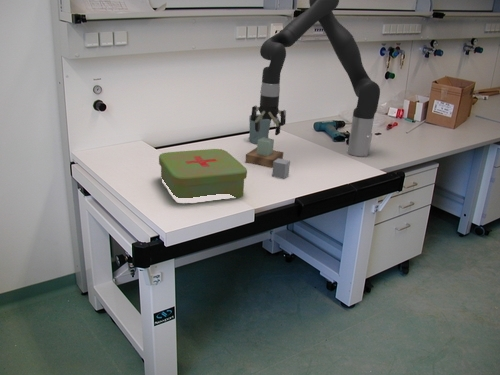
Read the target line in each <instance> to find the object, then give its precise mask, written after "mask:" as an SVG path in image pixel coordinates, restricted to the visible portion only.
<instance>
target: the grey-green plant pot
mask: <svg viewBox="0 0 500 375" xmlns="http://www.w3.org/2000/svg"><path fill="white" fill-rule="evenodd" d="M259 115H260V114H258V113H257V114H256V118H258V116H259ZM259 122H260V130H259V132H256V130H255V122H254V121H251V115H249V135H248V136H249V138H248V139H249V143H251V144H253V145H257V143H258V140H259V139H261V138H263V137H264V138H269V135H270V134H269V133H270V128H271V122H272V119H271V120H269V119H264V118H262V119H261V120H260V121H259Z"/></svg>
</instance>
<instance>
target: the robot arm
mask: <svg viewBox="0 0 500 375" xmlns="http://www.w3.org/2000/svg"><path fill="white" fill-rule="evenodd" d="M339 3H340V0H308V4H309V7H308V8H307V9H306V10H305V11H303V12H302V13H300V14H299V15H298V16H296V17H295V18H294V19H292V20H291V21H290V22H288V24H287V25H286V26H284V27H283V29H281V31H280V32H278V33H276V34H274V35H273V36H271V37H270V38H267V39H266V40H265V41H264V42H263V43H262V44H261V47H260V51H259V52H260V53H259V54H260V56H261V58H262V59H264V60H267V61H270V62H269V64H268V66H265V67H263V69H262V74H261V75H262V78H261V85H260V98H259V99H260V100H259V106H257V105H254V106H252V107H251V121H254V122H255V130H256V132H259V130H260V122H259V121H260V120H261V119H262V118H264V119H269V120H271V121H272V122H273V123H274V124H275V133H274V135H275V136H278V135H279V134H281V127H282V126H284V125H286V121H287V120H286V118H287V117H286V115H287V110H285V109H283V110H280V109H279V103H280V91H281V90H280V89H281V87H280V86H281V85H280V83H281V72H282V70H283V67H284V63H285V60H286V58H287V51H286V48H289V47H292V46H293V45H294V44H295V43H297V42H298V41H299V40H300V38H302V37H303V35H304V34H305V33H306V32H307V31H308V30H309V29H311V28H312V27H313V26H314V25H315V24H316V23H318V22H319V24H320V26H321V27H322V29H323V32H324V33H325V34H326V38H327V39H328V41H329V42H330V44H331V46H332V49H333V51H334V53H335V54H336V57H337V58H338V61H339V62H340V64H341V66H342V68H343V69H344V71H345V72H346V74H347V76H348V78H349V81H350V83H351V86H352V88H353V91H354V94H355V96H356V97H357V104H356V107H355V108H354V109H353V111H352V119H351V120H352V121H351V124H350V125H351V128H350V133H349V139H348V145H347V146H348V147H347V154H348V155H351V156H354V157H368V156H369V154H370V150H371V144H372V137H373V133H372V132H373V128H374V127H373V126H374V120H375V115H376V113H377V110H378V106H379V100H380V95H381V88H380V86H379V84H378V83H377V82H376V81H373V80H372V79H371V77H370V76H369V74H368V72H366V70H365V68H364V64H363V61H362V57H361V52H360V49H359V46H358V44H357V42H356V39H355V37H354V36H353V34H352V33H351V32H350V31H349V30H348V29H347V28H346V27H345V26H344V25H342V23H341V22H339V21H338V19H337V17H336V16H335V15H334V13H333V11H334V10H335V9H336V8H337V7H338V6H339ZM258 111H259V113H260V115H259V116H258V118H256V114H258ZM278 114H279V116H280V118H279V117H278Z"/></svg>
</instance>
